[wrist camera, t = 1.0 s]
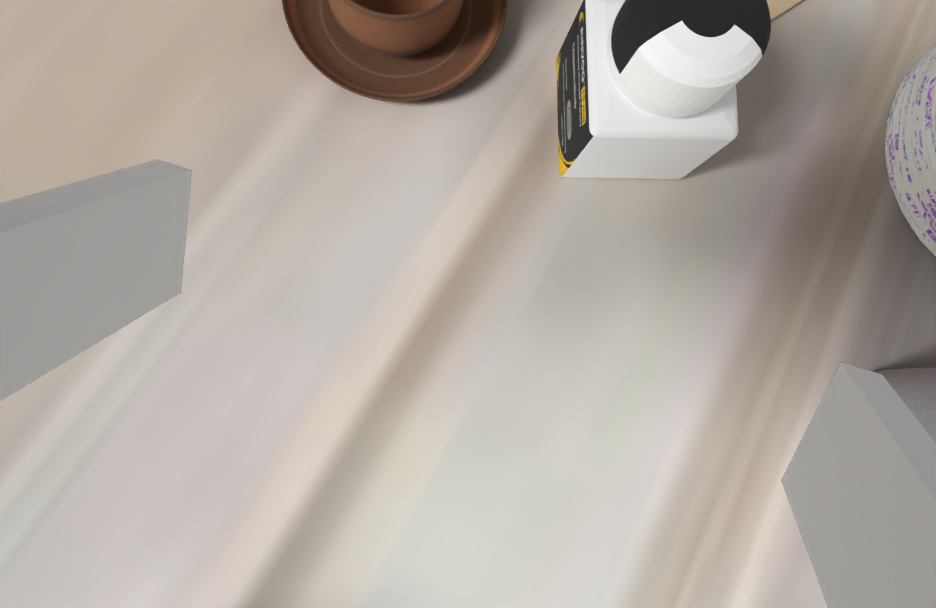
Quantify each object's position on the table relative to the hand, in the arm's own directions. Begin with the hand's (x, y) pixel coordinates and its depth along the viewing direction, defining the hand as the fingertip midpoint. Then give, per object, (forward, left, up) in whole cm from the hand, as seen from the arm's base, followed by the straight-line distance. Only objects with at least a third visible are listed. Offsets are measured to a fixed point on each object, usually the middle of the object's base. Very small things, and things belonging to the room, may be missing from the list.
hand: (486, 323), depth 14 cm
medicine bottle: (-6, +16, -24) cm, 30 cm away
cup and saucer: (-18, +9, -24) cm, 32 cm away
